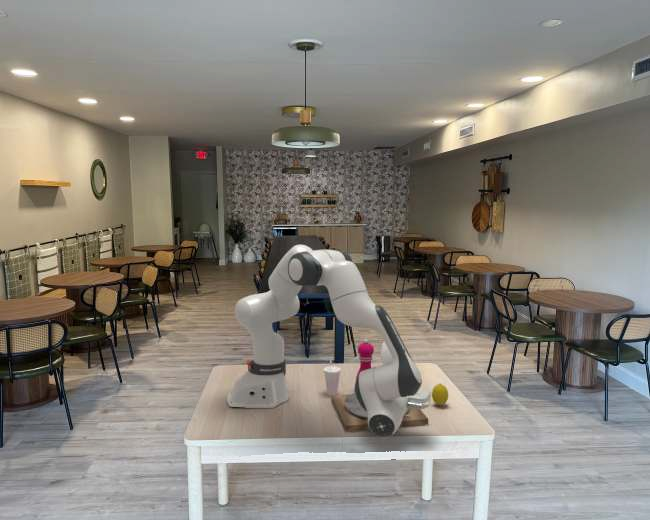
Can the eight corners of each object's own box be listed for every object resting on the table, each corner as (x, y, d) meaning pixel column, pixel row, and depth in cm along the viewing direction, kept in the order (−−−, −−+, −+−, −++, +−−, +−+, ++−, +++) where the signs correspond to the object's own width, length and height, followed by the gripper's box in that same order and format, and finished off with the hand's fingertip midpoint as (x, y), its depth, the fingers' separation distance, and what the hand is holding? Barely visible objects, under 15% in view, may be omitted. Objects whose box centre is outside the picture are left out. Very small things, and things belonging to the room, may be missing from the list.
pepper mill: (375, 387, 191) (375, 336, 188) (375, 394, 184) (375, 342, 181) (356, 386, 191) (356, 336, 189) (355, 394, 184) (355, 341, 182)
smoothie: (321, 392, 186) (321, 356, 184) (337, 389, 188) (337, 354, 186) (326, 398, 180) (326, 361, 178) (343, 396, 182) (343, 359, 180)
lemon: (428, 403, 176) (429, 381, 175) (442, 401, 177) (443, 380, 176) (436, 409, 170) (437, 387, 169) (451, 407, 172) (451, 385, 171)
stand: (346, 432, 155) (346, 424, 154) (331, 401, 178) (331, 394, 178) (428, 424, 159) (428, 417, 159) (403, 395, 183) (403, 389, 182)
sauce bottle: (403, 369, 210) (403, 328, 207) (391, 374, 204) (391, 331, 202) (388, 365, 215) (389, 324, 213) (376, 369, 210) (377, 328, 208)
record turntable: (350, 422, 156) (350, 381, 155) (340, 394, 178) (340, 358, 176) (419, 418, 159) (420, 378, 157) (401, 391, 180) (402, 356, 179)
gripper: (428, 397, 143) (434, 380, 156) (360, 387, 150) (370, 372, 163) (427, 418, 144) (433, 399, 157) (359, 407, 151) (370, 390, 164)
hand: (401, 385), depth 160 cm, fingers closed
